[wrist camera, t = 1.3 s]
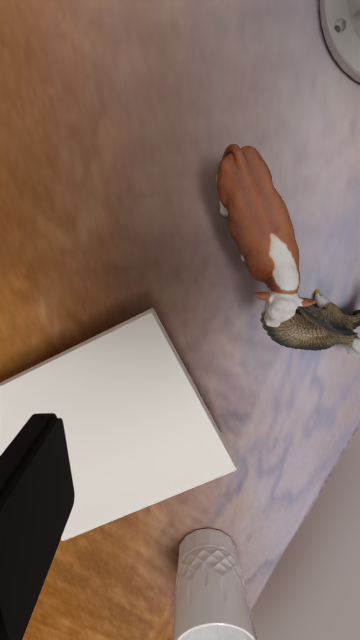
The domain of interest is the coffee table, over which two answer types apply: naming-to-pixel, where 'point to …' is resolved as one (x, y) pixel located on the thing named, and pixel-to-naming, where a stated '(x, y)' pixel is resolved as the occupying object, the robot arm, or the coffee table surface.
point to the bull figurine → (261, 230)
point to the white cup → (210, 590)
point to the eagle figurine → (318, 328)
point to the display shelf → (121, 421)
